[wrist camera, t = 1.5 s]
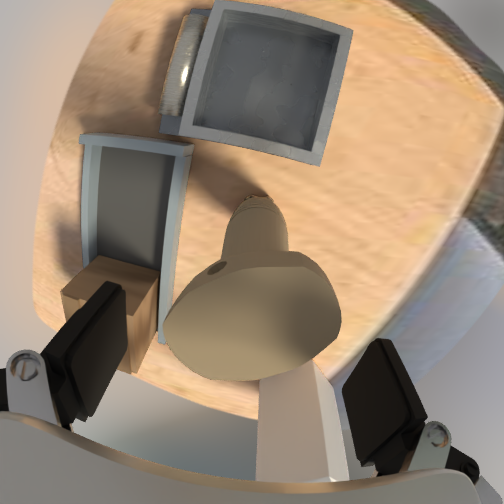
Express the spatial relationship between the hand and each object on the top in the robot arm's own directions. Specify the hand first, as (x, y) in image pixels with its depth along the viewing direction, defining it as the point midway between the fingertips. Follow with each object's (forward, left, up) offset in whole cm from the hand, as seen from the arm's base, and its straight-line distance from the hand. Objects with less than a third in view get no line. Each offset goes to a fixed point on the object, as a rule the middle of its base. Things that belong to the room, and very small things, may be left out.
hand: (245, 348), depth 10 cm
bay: (+5, -11, -15) cm, 19 cm away
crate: (+10, -11, -15) cm, 21 cm away
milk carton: (+19, +10, -15) cm, 27 cm away
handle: (-1, 0, -15) cm, 15 cm away
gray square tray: (-11, -3, -15) cm, 19 cm away
